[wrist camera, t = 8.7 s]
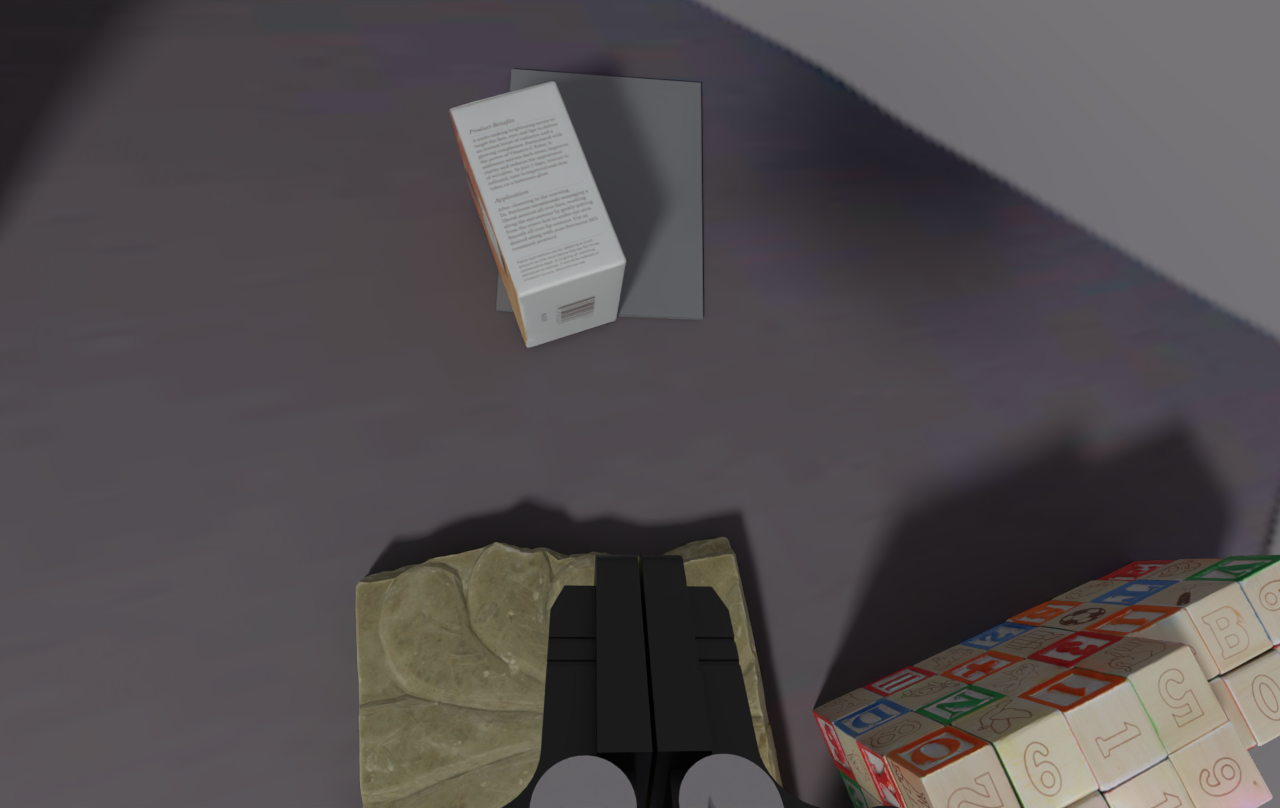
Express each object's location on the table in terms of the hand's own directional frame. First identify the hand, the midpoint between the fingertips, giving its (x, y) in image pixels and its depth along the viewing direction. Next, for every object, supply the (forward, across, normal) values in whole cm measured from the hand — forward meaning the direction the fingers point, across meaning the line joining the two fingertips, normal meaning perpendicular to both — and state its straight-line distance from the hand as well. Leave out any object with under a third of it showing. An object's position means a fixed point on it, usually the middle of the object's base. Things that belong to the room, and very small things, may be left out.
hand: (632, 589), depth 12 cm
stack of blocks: (+14, -23, +22) cm, 35 cm away
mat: (+34, 0, +2) cm, 34 cm away
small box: (+24, +1, +6) cm, 25 cm away
